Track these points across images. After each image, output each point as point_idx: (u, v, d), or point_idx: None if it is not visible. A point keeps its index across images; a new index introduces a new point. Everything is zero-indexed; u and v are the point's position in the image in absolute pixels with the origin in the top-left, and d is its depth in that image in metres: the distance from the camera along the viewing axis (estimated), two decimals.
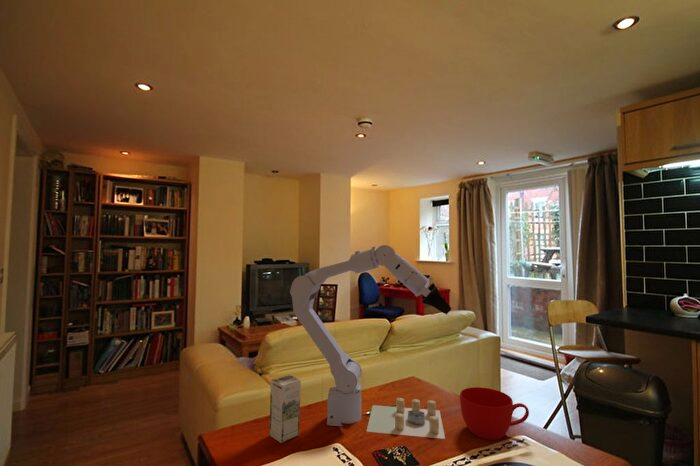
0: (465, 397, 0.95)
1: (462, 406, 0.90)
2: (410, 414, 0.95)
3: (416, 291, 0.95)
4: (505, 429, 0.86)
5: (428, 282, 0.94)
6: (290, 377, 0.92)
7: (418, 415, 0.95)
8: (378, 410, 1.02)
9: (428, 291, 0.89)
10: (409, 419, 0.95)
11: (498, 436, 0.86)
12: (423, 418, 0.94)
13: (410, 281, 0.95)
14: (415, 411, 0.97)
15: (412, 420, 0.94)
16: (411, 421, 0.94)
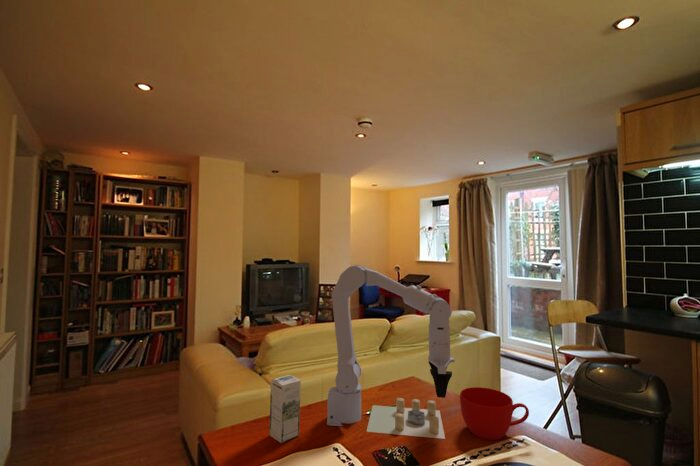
0: (465, 397, 0.95)
1: (462, 406, 0.90)
2: (410, 414, 0.95)
3: (433, 358, 0.94)
4: (505, 429, 0.86)
5: (449, 362, 0.93)
6: (290, 377, 0.92)
7: (418, 415, 0.95)
8: (378, 410, 1.02)
9: (444, 372, 0.88)
10: (409, 419, 0.95)
11: (498, 436, 0.86)
12: (423, 418, 0.94)
13: (437, 348, 0.93)
14: (415, 411, 0.97)
15: (412, 420, 0.94)
16: (411, 421, 0.94)
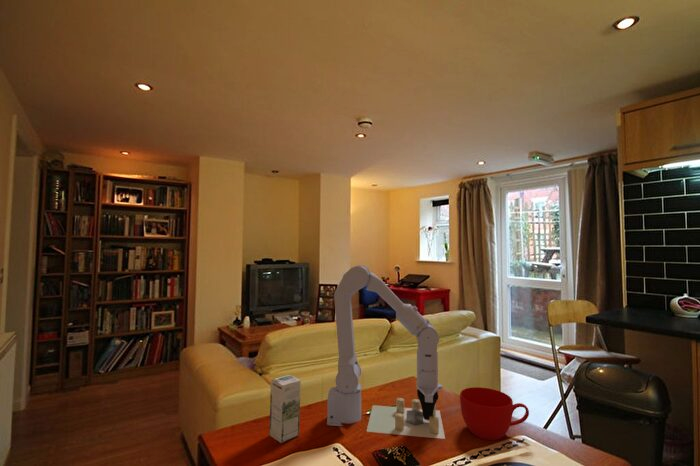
0: (465, 397, 0.95)
1: (462, 406, 0.90)
2: (409, 414, 0.96)
3: (421, 385, 0.94)
4: (505, 429, 0.86)
5: (436, 390, 0.93)
6: (290, 377, 0.92)
7: (417, 415, 0.95)
8: (378, 410, 1.02)
9: (431, 400, 0.88)
10: (408, 419, 0.95)
11: (498, 436, 0.86)
12: (422, 418, 0.94)
13: (425, 375, 0.93)
14: (414, 411, 0.97)
15: (411, 420, 0.94)
16: (410, 421, 0.94)
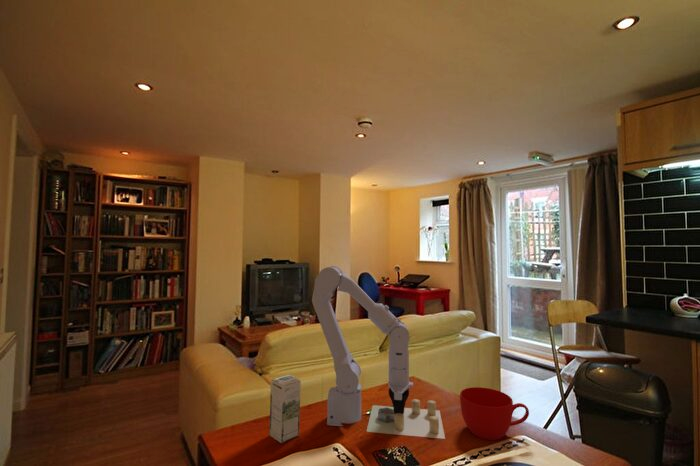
0: (465, 397, 0.95)
1: (462, 406, 0.90)
2: (381, 411, 0.97)
3: (392, 383, 0.95)
4: (505, 429, 0.86)
5: (406, 387, 0.94)
6: (290, 377, 0.92)
7: (388, 413, 0.96)
8: (378, 410, 1.02)
9: (400, 398, 0.90)
10: (379, 416, 0.96)
11: (498, 436, 0.86)
12: (393, 415, 0.95)
13: (395, 373, 0.95)
14: (386, 408, 0.99)
15: (382, 417, 0.95)
16: (381, 418, 0.96)
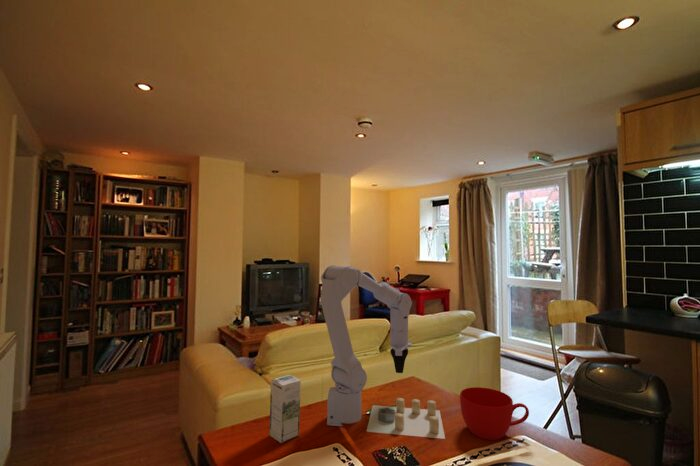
0: (465, 397, 0.95)
1: (462, 406, 0.90)
2: (381, 411, 0.97)
3: (393, 343, 1.10)
4: (505, 429, 0.86)
5: (406, 346, 1.08)
6: (290, 377, 0.92)
7: (388, 413, 0.96)
8: (378, 410, 1.02)
9: (400, 354, 1.04)
10: (379, 416, 0.96)
11: (498, 436, 0.86)
12: (393, 415, 0.95)
13: (396, 334, 1.09)
14: (386, 409, 0.99)
15: (382, 417, 0.95)
16: (381, 418, 0.96)
